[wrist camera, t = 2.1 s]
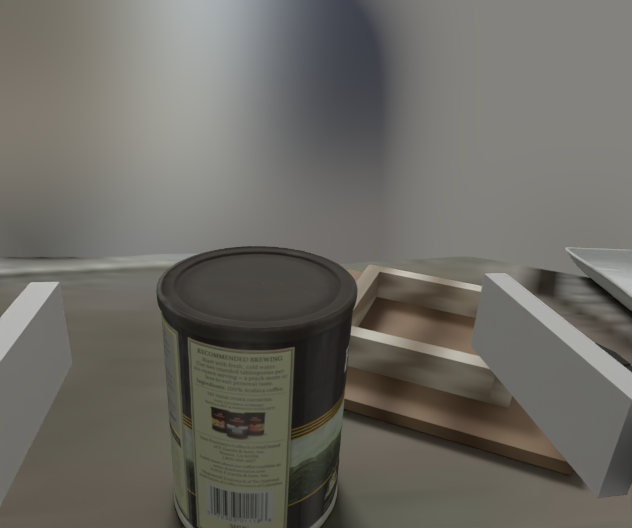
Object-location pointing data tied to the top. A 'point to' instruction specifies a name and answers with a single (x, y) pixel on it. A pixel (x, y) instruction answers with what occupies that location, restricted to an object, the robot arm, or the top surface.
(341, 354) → the coffee can
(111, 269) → the top surface
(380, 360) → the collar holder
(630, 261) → the square plate
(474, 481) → the top surface
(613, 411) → the robot arm
